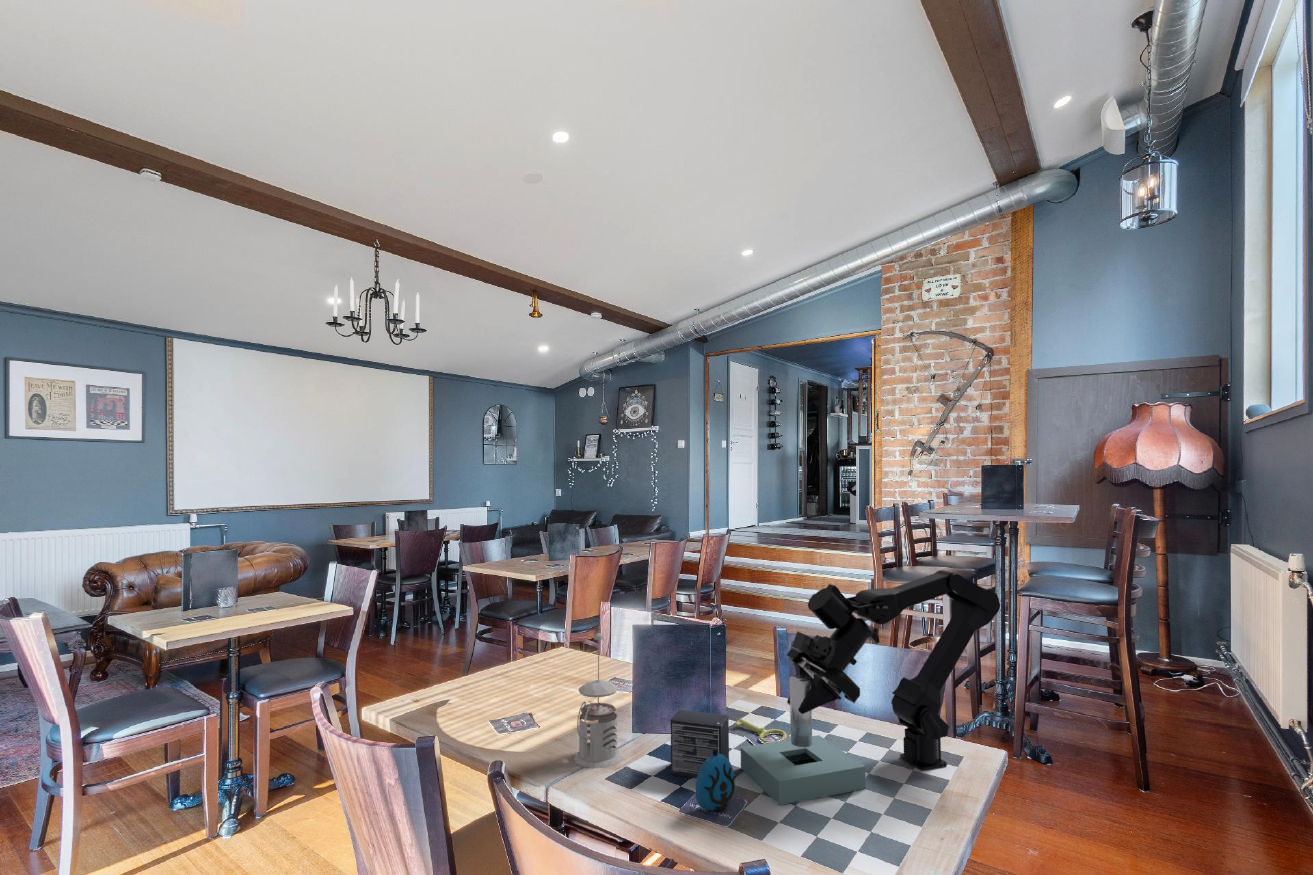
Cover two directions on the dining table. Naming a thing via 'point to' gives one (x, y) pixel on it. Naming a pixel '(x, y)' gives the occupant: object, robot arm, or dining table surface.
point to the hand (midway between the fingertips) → (794, 708)
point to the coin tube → (798, 721)
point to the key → (760, 730)
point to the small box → (696, 740)
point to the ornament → (715, 782)
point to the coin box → (802, 770)
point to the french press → (597, 725)
